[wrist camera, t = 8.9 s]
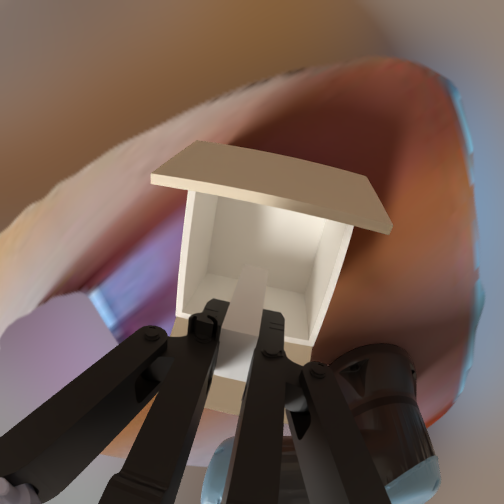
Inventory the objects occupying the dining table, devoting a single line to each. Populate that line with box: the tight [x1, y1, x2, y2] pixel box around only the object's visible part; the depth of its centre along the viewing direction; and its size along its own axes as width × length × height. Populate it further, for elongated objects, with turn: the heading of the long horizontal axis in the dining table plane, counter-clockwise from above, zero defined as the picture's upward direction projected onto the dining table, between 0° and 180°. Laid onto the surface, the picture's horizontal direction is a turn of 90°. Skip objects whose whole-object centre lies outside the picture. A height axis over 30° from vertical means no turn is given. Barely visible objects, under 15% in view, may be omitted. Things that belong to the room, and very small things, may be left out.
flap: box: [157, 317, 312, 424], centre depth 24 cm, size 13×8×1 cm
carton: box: [176, 190, 354, 347], centre depth 28 cm, size 13×15×10 cm
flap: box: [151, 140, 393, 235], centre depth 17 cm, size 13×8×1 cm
